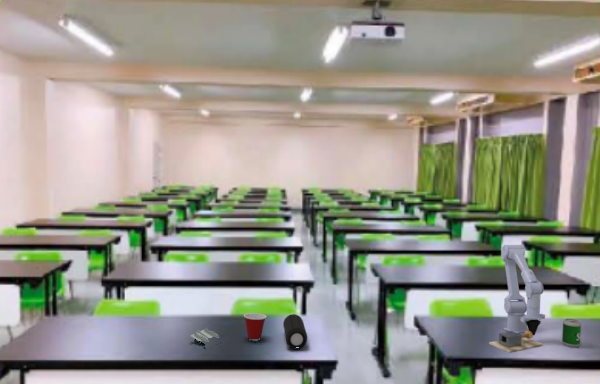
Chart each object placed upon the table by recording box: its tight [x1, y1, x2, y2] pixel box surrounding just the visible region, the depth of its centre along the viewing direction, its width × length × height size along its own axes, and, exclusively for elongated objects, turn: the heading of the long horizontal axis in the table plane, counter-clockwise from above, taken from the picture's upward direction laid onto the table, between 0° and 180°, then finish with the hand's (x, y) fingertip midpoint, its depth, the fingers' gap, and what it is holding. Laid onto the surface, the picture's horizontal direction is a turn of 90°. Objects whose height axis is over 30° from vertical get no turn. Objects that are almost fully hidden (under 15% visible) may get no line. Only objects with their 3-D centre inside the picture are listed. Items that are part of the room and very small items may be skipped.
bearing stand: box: [488, 331, 544, 353], centre depth 244 cm, size 22×12×6 cm, turn 116°
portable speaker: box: [283, 313, 308, 349], centre depth 244 cm, size 26×10×10 cm, turn 5°
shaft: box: [520, 330, 534, 339], centre depth 245 cm, size 14×4×4 cm, turn 116°
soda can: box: [561, 318, 582, 349], centre depth 244 cm, size 8×8×12 cm
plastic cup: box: [243, 312, 267, 339], centre depth 245 cm, size 11×11×12 cm
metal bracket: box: [190, 327, 220, 342], centre depth 242 cm, size 14×6×15 cm
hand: (532, 334), depth 249 cm, fingers closed
